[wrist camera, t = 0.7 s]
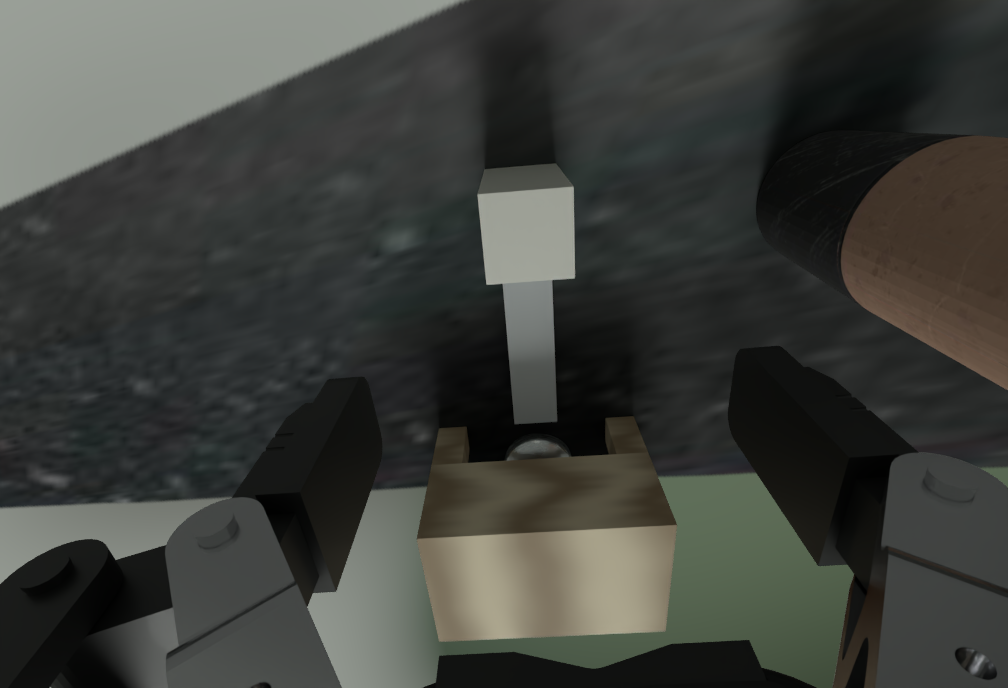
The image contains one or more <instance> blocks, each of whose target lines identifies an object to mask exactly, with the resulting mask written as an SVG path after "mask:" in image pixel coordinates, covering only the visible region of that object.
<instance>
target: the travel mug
mask: <svg viewBox="0 0 1008 688" xmlns="http://www.w3.org/2000/svg"><path fill="white" fill-rule="evenodd" d="M757 221H758V225H759V228H760V230H761V233H762V235H763V237H764V238H765V239H766V241H767V242H768V243H769V244H770V245H771V246H772V247H773V248H774V249H776V250H777V251H778V252H780V253H781V254H782V255H784V256H785V257H787V258H788V259H790V260H791V261H793V262H794V263H796V264H797V265H799V266H800V267H802V268H804V269H805V270H807V271H808V272H810V273H811V274H813V275H814V276H816V277H817V278H819V279H820V280H822V281H824V282H825V283H827V284H828V285H830V286H831V287H833V288H834V289H836V290H837V291H839V292H840V293H842V294H843V295H845V296H847V297H848V298H850V299H851V300H853V301H854V302H856V303H857V304H859V305H860V306H862V307H864V308H865V309H867V310H868V311H870V312H872V313H874V314H875V315H877V316H879V317H881V318H882V319H884V320H886V321H888V322H889V323H891V324H893V325H895V326H896V327H898V328H900V329H902V330H903V331H905V332H907V333H909V334H910V335H912V336H914V337H916V338H917V339H919V340H921V341H923V342H924V343H926V344H928V345H930V346H931V347H933V348H935V349H937V350H938V351H940V352H942V353H944V354H945V355H947V356H949V357H951V358H952V359H954V360H956V361H958V362H959V363H961V364H963V365H965V366H966V367H968V368H970V369H972V370H973V371H975V372H977V373H979V374H980V375H982V376H984V377H986V378H987V379H989V380H991V381H993V382H994V383H996V384H998V385H1000V386H1001V387H1003V388H1005V389H1007V390H1008V138H1001V137H991V136H974V135H951V134H928V133H904V132H881V131H857V130H837V131H828V132H823V133H819V134H816V135H814V136H811V137H809V138H807V139H805V140H803V141H801V142H799V143H798V144H796V145H794V146H793V147H792V148H790V149H789V150H788V151H787V152H785V153H784V154H783V155H782V156H781V157H780V158H779V159H778V160H777V162H776V163H775V164H774V165H773V166H772V168H771V169H770V171H769V172H768V174H767V176H766V178H765V180H764V181H763V184H762V186H761V189H760V192H759V196H758V200H757Z"/></svg>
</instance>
